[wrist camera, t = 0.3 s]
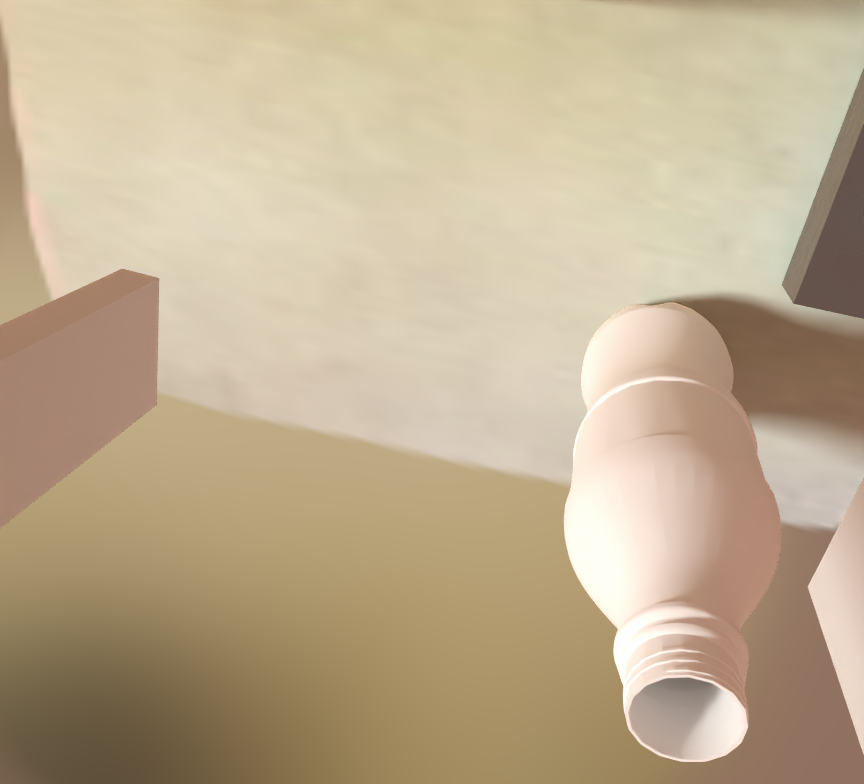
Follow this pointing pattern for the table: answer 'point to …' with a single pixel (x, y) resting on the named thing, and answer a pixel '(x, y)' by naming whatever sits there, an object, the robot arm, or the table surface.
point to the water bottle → (671, 525)
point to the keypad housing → (835, 227)
